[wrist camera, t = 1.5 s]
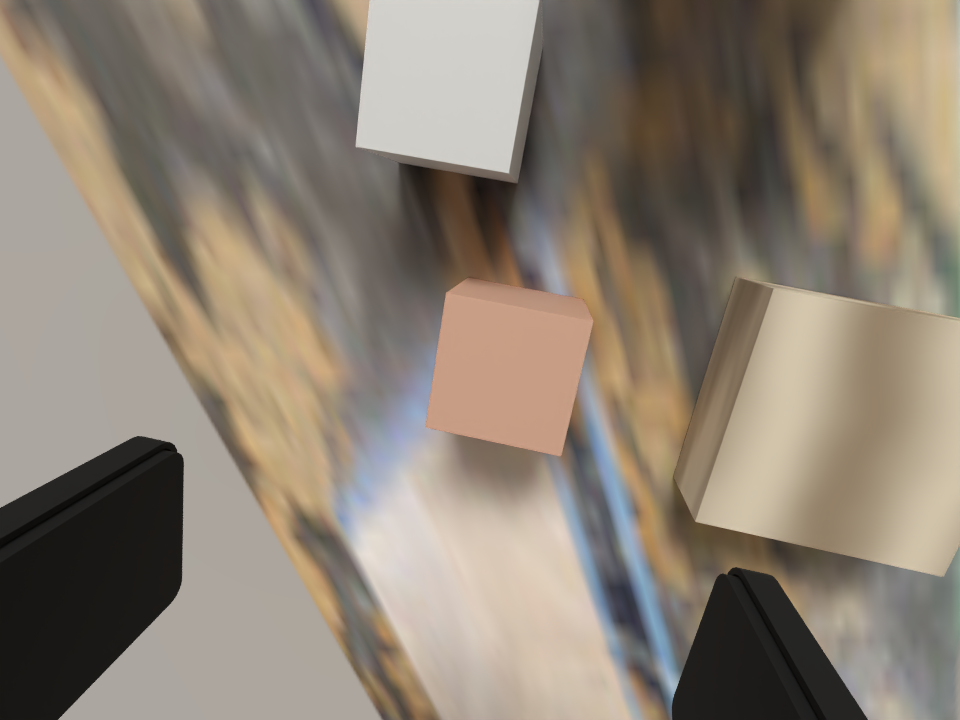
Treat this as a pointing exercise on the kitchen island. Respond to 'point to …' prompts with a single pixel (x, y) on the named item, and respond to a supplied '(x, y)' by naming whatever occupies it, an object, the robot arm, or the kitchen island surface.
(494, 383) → the terracotta cube
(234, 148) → the kitchen island surface
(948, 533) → the maple base block
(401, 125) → the pale grey cube
